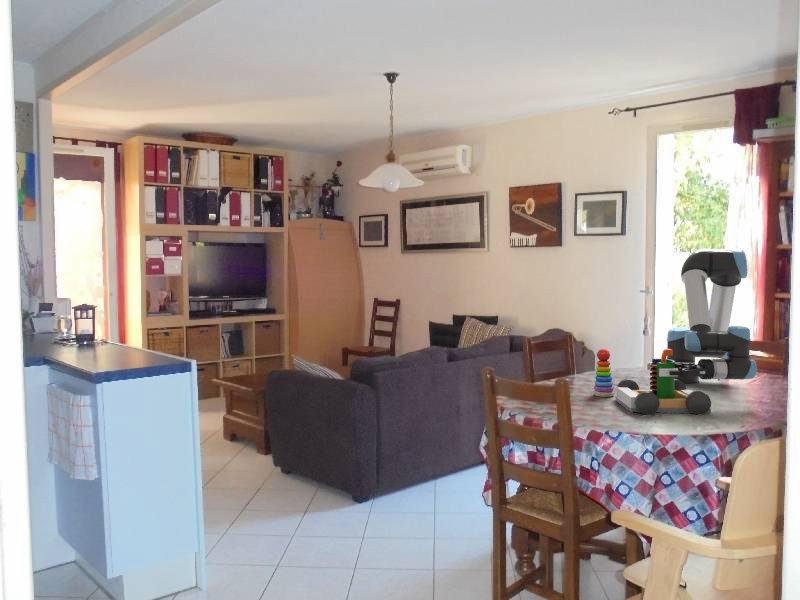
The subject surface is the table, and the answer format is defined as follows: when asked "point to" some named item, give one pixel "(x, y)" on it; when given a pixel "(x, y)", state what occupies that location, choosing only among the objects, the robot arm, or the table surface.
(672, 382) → the motor
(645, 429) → the table surface
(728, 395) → the table surface
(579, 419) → the table surface
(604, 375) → the stacking toy
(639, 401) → the chassis
